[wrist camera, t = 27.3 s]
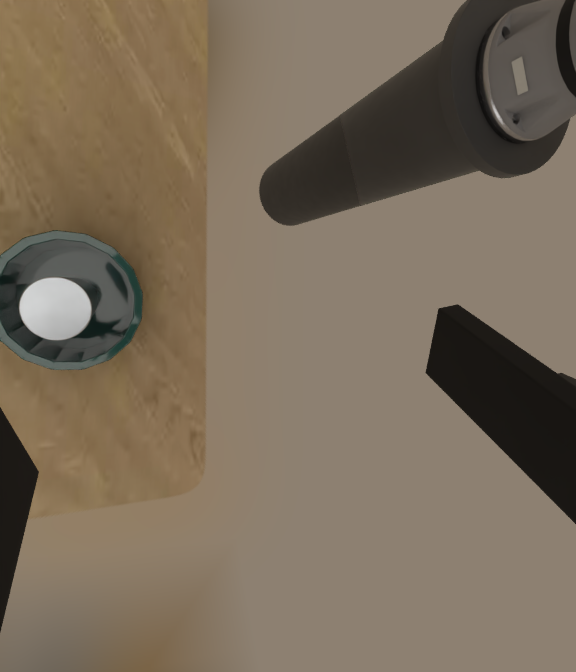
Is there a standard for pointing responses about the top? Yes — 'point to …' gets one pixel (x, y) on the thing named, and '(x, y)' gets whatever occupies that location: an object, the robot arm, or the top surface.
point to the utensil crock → (75, 262)
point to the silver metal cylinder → (58, 307)
